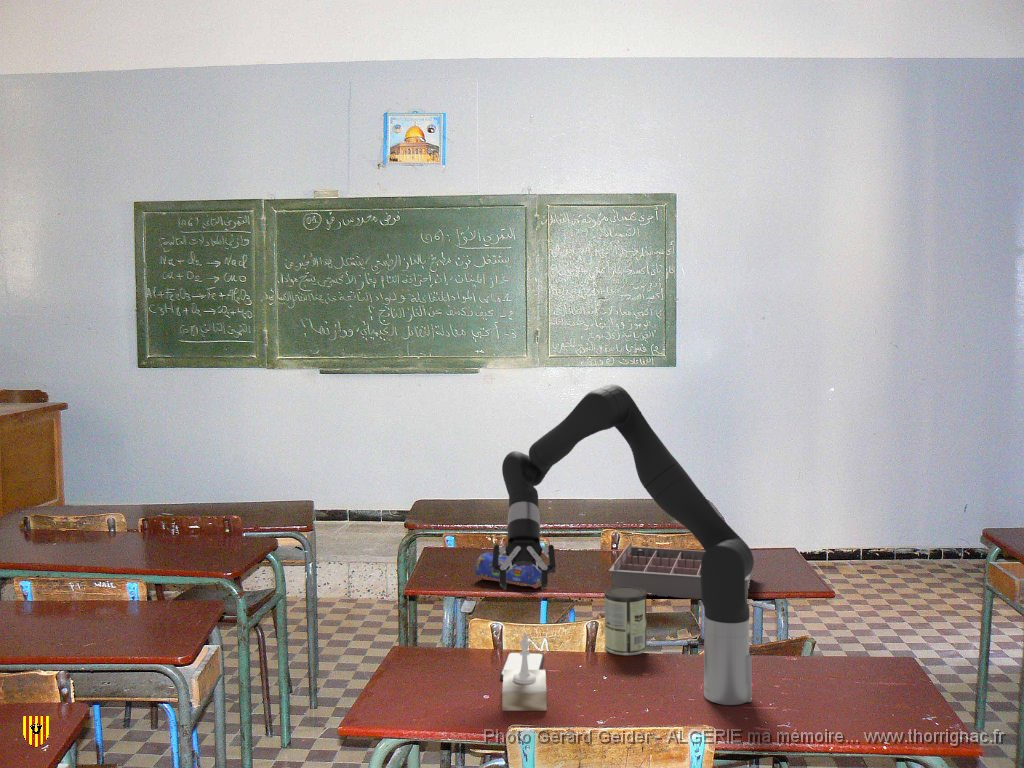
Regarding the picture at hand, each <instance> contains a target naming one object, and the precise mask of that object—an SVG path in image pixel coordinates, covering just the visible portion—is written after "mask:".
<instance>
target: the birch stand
mask: <svg viewBox="0 0 1024 768" xmlns="http://www.w3.org/2000/svg"><path fill="white" fill-rule="evenodd" d="M519 671H520V670H504V674H503V681H502V690H501V691H502V692H501V693H502V695H501V696H502V699H501V700H502V701H501V703H502V705H501V706H502V708H501V710H502V712H503V711H507V712H508V711H509V712H510V711H512V712H513V711H515V712H516V711H518V712H520V711H527V712H528V711H533V712H534V711H535V712H536V711H537V712H538V711H541V712H542V711H547V706H548V705H547V704H548V701H547V693H548V692H547V676H546V669H542V670H529V671H530V673H533V674H534V675H535V676H536V681H535V682H533V683H530V684H520V683H516V682H514V681H513V676H514V674H516V673H519Z"/></svg>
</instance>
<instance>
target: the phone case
mask: <svg viewBox="0 0 1024 768" xmlns="http://www.w3.org/2000/svg"><path fill="white" fill-rule="evenodd" d="M529 653H530V654H529V655H527V662H528V670H543V666H544V660H545V655H544V654H543V653H534V652H533V653H531V652H529ZM521 664H522V655H520V652H509V653H508V654H507V655H506V659H505V661H504V663H503V666H502V668H501V672H500V675H499V678H500V680H501V681H502V680H503V674H504V670H521Z"/></svg>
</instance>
